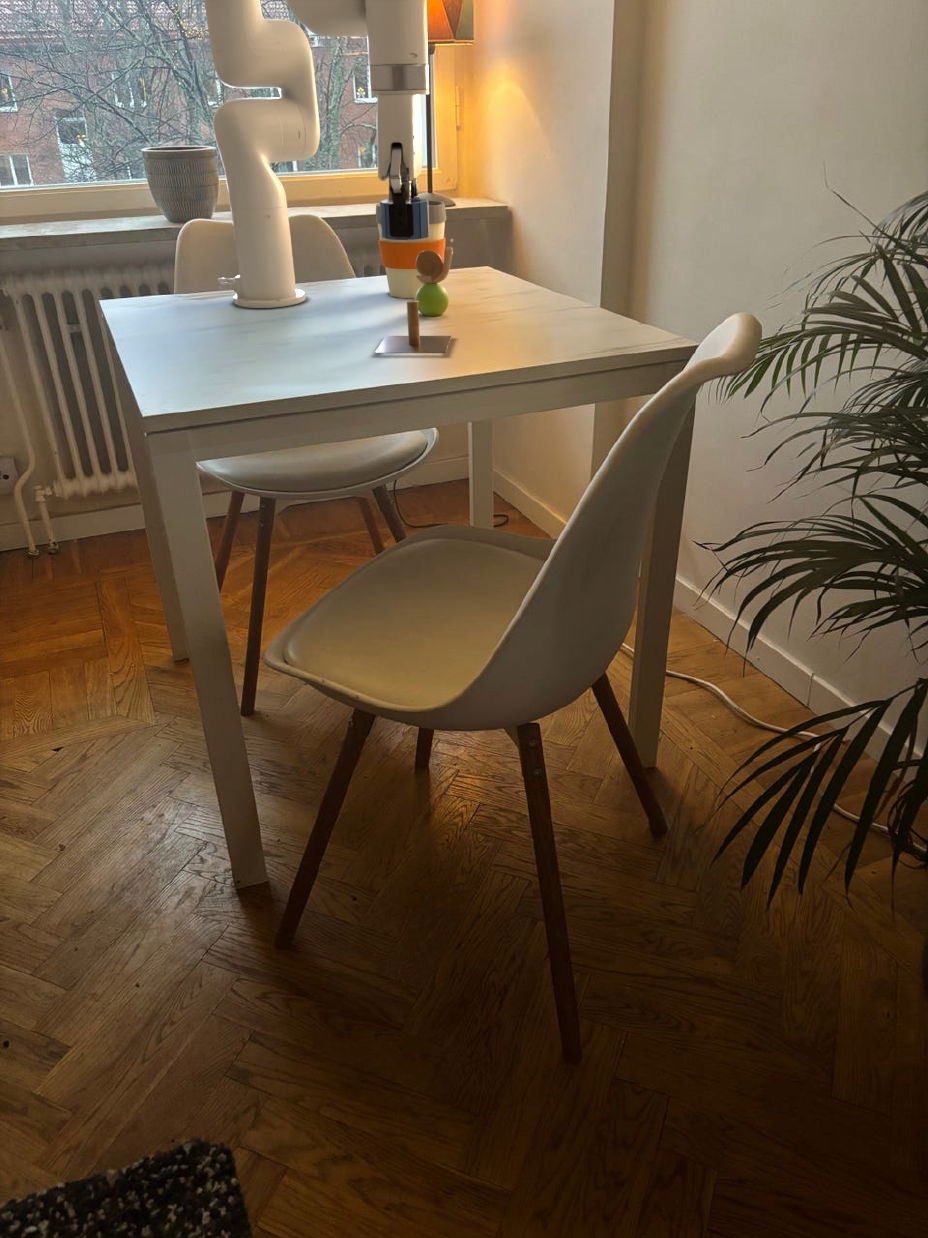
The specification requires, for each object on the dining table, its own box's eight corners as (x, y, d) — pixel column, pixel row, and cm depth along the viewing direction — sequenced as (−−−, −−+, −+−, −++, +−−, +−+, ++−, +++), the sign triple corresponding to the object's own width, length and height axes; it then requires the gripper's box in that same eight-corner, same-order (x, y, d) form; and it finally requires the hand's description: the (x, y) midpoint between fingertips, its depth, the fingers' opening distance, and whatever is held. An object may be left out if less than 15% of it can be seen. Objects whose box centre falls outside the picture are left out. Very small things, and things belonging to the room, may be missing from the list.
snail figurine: (451, 321, 150) (449, 241, 144) (412, 320, 151) (408, 241, 145) (458, 314, 155) (456, 236, 149) (420, 313, 156) (417, 236, 150)
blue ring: (379, 239, 126) (377, 203, 124) (386, 232, 131) (384, 197, 129) (426, 239, 125) (425, 203, 123) (431, 232, 131) (430, 197, 129)
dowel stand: (375, 356, 132) (371, 308, 128) (385, 339, 140) (382, 293, 137) (445, 356, 131) (444, 308, 128) (451, 339, 140) (450, 293, 136)
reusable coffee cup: (447, 299, 165) (445, 207, 157) (376, 300, 165) (370, 208, 158) (449, 285, 176) (447, 198, 168) (383, 287, 176) (377, 200, 169)
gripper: (380, 81, 127) (387, 223, 136) (358, 82, 112) (368, 242, 121) (435, 80, 126) (439, 223, 135) (420, 81, 111) (425, 242, 120)
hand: (405, 231), depth 128 cm, fingers closed on blue ring, 6 cm apart
